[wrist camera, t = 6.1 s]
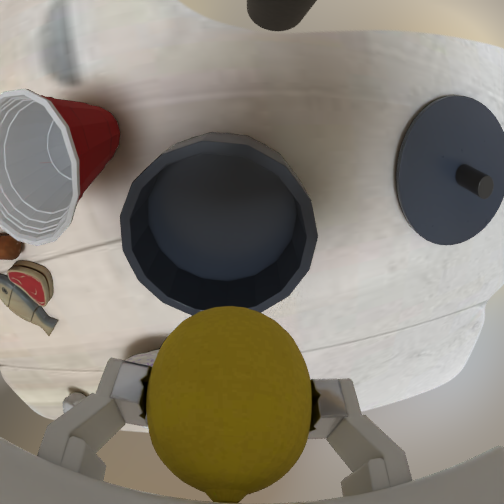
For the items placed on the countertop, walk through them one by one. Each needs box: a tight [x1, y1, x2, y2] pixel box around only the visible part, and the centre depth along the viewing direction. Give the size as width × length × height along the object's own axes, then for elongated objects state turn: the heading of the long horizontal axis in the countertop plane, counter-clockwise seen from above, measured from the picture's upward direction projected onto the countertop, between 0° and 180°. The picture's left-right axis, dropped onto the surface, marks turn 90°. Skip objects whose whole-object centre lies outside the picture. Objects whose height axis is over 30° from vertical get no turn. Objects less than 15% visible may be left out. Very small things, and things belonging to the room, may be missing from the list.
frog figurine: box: [63, 393, 86, 413], centre depth 42 cm, size 6×7×7 cm
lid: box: [396, 95, 504, 245], centre depth 23 cm, size 17×17×5 cm
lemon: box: [146, 306, 312, 503], centre depth 9 cm, size 6×6×8 cm
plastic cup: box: [0, 89, 120, 246], centre depth 18 cm, size 11×11×12 cm
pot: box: [120, 132, 318, 316], centre depth 26 cm, size 16×16×5 cm
